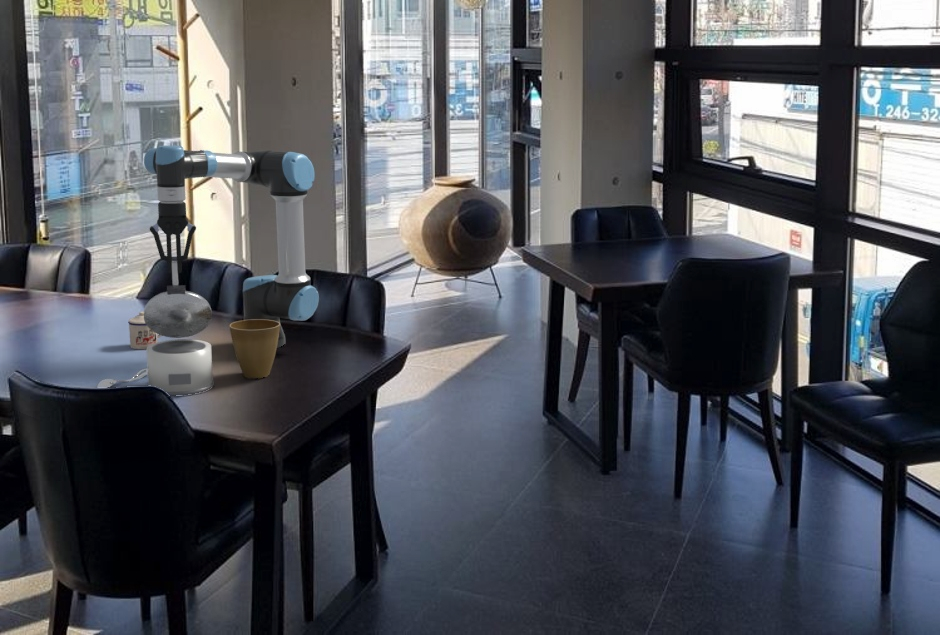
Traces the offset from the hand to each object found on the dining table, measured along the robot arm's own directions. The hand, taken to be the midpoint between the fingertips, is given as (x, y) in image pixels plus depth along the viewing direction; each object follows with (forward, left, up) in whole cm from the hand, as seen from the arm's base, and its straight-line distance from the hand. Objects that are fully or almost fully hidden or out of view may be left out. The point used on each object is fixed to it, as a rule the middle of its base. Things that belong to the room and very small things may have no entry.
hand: (175, 284), depth 312 cm
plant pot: (-22, -8, -31) cm, 39 cm away
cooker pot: (0, 0, -30) cm, 30 cm away
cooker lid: (0, -3, -9) cm, 10 cm away
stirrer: (+16, -8, -31) cm, 36 cm away
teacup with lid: (+11, -50, -31) cm, 59 cm away
